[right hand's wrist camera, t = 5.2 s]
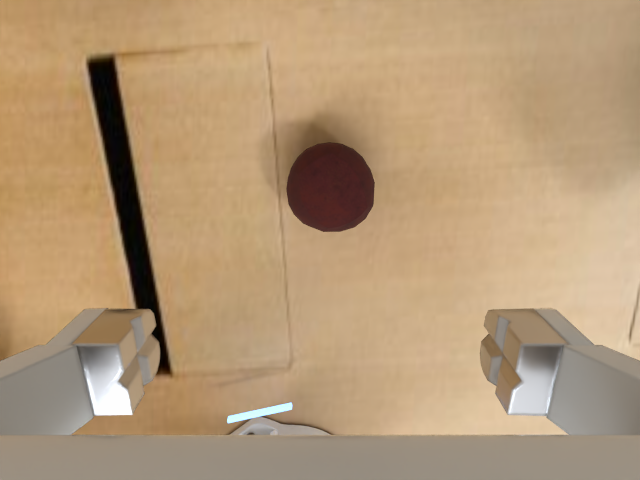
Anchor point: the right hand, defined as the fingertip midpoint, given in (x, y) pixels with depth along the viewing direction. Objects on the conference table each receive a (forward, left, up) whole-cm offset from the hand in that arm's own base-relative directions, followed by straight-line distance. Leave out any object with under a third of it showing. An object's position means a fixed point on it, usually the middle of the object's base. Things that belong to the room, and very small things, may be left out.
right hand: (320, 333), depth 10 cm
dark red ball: (0, -2, -29) cm, 29 cm away
